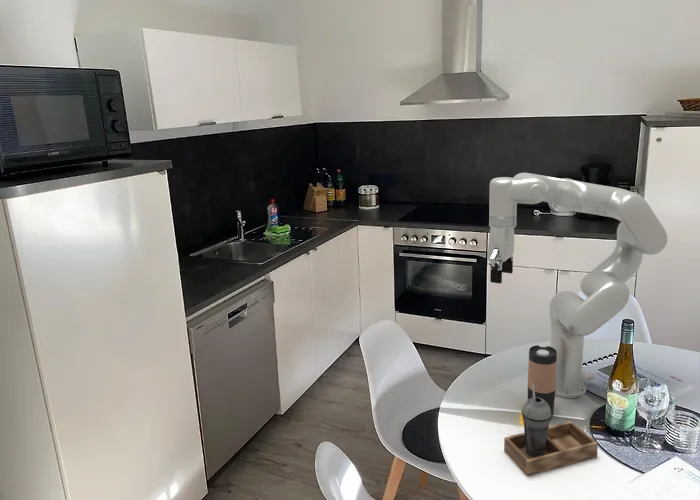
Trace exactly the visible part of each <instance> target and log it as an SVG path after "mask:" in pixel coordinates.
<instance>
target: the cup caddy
mask: <svg viewBox="0 0 700 500" xmlns="http://www.w3.org/2000/svg"><path fill="white" fill-rule="evenodd" d="M503 440H504V441H503V442H504V444H503V448H504V450H503V451H504V453H505V454H506V455H507V456H508V457H509V458H510V459H511V460H512V461H513V463H514V464H516V465H517V467H518V468H519V469H521V471H522V472H523V473H524V475H526V476H527V477H530V476H533V475H536V474H539V473H540V474H541V473H544V472H547V471H550V470H554V469H558V468H559V469H560V468H561V467H565V466H570V465H573V464H576V463H580V462H584V461H587V460H591V459H595V458H597V457H598V449H599V443H598V442H597V440H595V439H594V438H592V437H591V436H590V435H589V434H588V433H586V432H585V431H584V430H582V429H581V428H580V427H579V426H578V425H577V424H575V423H574V422H573V421H571V420H569V421H566V422H565V421H564V422H562V423H558V424H553V425H549V427H548V434H547V440H546V447H545V452H544V455H543V456H539V457H535V458H534V457H531V456H529V455H528V454H527V453H526V447H525V433H524V432H522V433H518V434H514V435H510V436H506V437H504V438H503Z"/></svg>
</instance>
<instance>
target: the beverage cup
mask: <svg viewBox="0 0 700 500" xmlns="http://www.w3.org/2000/svg"><path fill="white" fill-rule="evenodd" d="M532 391H533V398H530V399H528V398H527V400H526V401H525V402H524V404H523V405H522V409H521V414H522V420H523V429H524V431H523V433H525V447H526V453H527V454H528V455H529V456H531V457H534V458H535V457H539V456H543V455H544V452H545V447H546V440H547V434H548V427H549V426H550V422H551V419H552V418H553V416H552V414H551V409H550V407H549V405H548V403H547V402H546V401H545V400H543V399H541V398H538V397H535V390H534V383H532Z"/></svg>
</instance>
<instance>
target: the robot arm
mask: <svg viewBox="0 0 700 500" xmlns="http://www.w3.org/2000/svg"><path fill="white" fill-rule="evenodd" d="M488 198H489V199H488V200H489V202H488V203H489V204H488V205H489V207H488V208H489V209H488V210H489V211H488V212H489V214H488V215H489V216H488V217H489V218H488V219H489V220H488V226H489V227H490V228H489V236H488V248H487V261H488V262H489V266H490V267H489V268H490V269H489V270H490V277H489V279H490V283H493V284H502V283H503V273H506V274H513V272H514V271H513V269H514V268H513V267H514V266H513V265H514V252H515V228H516V227H517V214H518V213H517V209H518V207H517V206H518V204H527V205H535V204H539V203H542V202H543V203H548V204H552V205H555V206H558V207H560V208H562V209H566V210H569V211H572V212H577V213H583V214H590V215H596V216H602V217H606V218H607V217H608V218H613V219H615V220H618V221H620V223H619V224H618V226H617V229H616V244H615V247H614V249H613V250H612V253H611V254H610V255H609V256H607V258H605V260H603V261H602V262H601V263H599V264H598V265H597V266H595V267H594V268H593V269H592V270H591V271H589V272H588V273H587V274H586V275H584V277H583V278H582V279H581V282H580V283H579V284H580V290H581V292H582V294H583V295H584V296H585V297H586V299H584V298H583V297H581V296H580V295H579V294H577V293H575V292H573V291H570V290H563V291H560V292H557V293H556V294H555V295H554V296H553V297H551V300H550V303H549V309H548V311H549V319H550V320H549V321H550V343H549V346H550V347H552V348H554V349H555V350H556V351H557V364H556V389H555V397H560V398H564V399H565V398H566V399H574V398H580V397H582V396H583V395H585V394H586V392H587V385H586V382H587V381H590V380H594V379H595V374H594V373H593V372H589V373H586V371H585V370H583V361H584V359H583V358H584V347H585V343H584V342H585V337H586V336H589V335H591V334H594V332H596V331H597V330H599V329H600V328H602V327H603V326H604V325H605V324H606V323H608V322H610V320H611V319H613V318H614V317H615V316H616V315H618V314H619V313H621V312H622V311H623V310H624V308H625V307H626V306H627V305H628V302H629V300H630V293H631V292H630V290H629V289H630V288H629V287H628V285H627V284H626V282H627V281H628V280H629V279H630V278H632V277H633V276H634V275H635V274H636V273H637V272H638V270H639V269H640V266H641V264H642V261H643V258H644V257H643V256H644V255H647V256H653V255H657V254H660V253H661V252H662V251H664V249H665V248H666V246H667V243H668V235H667V231H666V229H665V227H664V226H663V224H662V222H661V221H660V220H659V219H658V217H657V215H656V214H655V212H654V211H653V209H652V208H651V206H650V204H649V203H648V202H647V200H646V199H645V198H644V197H643V196H642V195H640V194H639V193H637V192H633V191H630V190H627V189H624V188H620V187H615V186H609V185H602V184H596V183H590V182H585V181H579V180H574V179H573V180H572V179H565V178H559V177H552V176H548V175H542V174H536V173H530V172H520V173H517V174H516V175H514V176H513V177H509V176H500V177H495V178H492V179H491V180H490V182H489V197H488Z"/></svg>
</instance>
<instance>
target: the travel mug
mask: <svg viewBox="0 0 700 500" xmlns="http://www.w3.org/2000/svg"><path fill="white" fill-rule="evenodd" d="M556 364H557V351H556V350H555V349H554V348H552V347H550V345H546V346H540V345H532V346H531V347H529V350H528V366H527V368H528V370H527V400H528V399H530V398H533V391H532V383H534V390H535V397H538V398H541V399H543V400H545V401H546V402H547V403H548V405H549V407H550V409H551V414H552V417H553V416H554V412H555V410H554V409H555V402H556V401H555V398H556V395H555V389H556Z"/></svg>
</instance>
